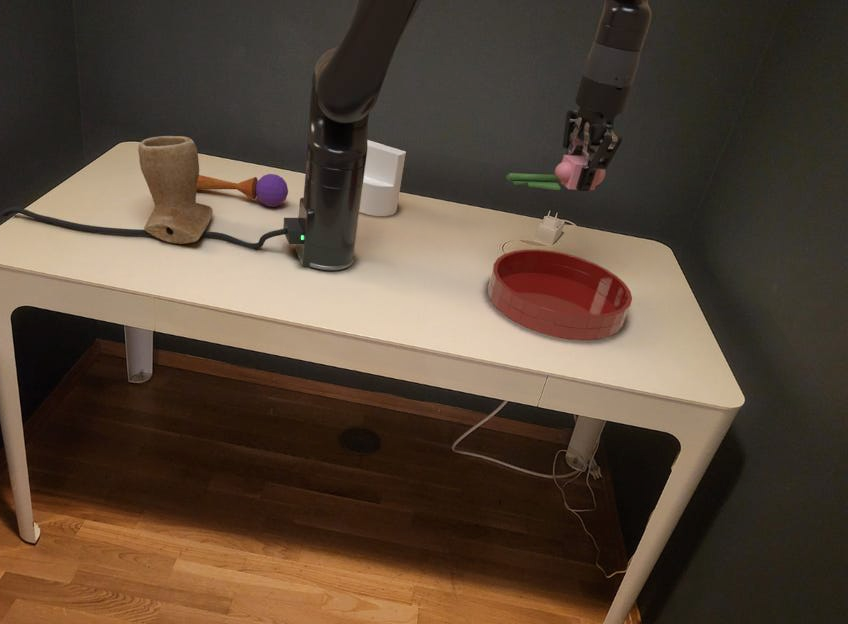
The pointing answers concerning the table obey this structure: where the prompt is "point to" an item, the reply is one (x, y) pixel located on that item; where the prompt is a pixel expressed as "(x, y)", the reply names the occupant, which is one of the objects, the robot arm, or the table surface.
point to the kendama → (252, 188)
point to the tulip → (558, 175)
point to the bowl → (559, 294)
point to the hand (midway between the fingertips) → (575, 184)
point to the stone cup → (173, 188)
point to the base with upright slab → (381, 179)
